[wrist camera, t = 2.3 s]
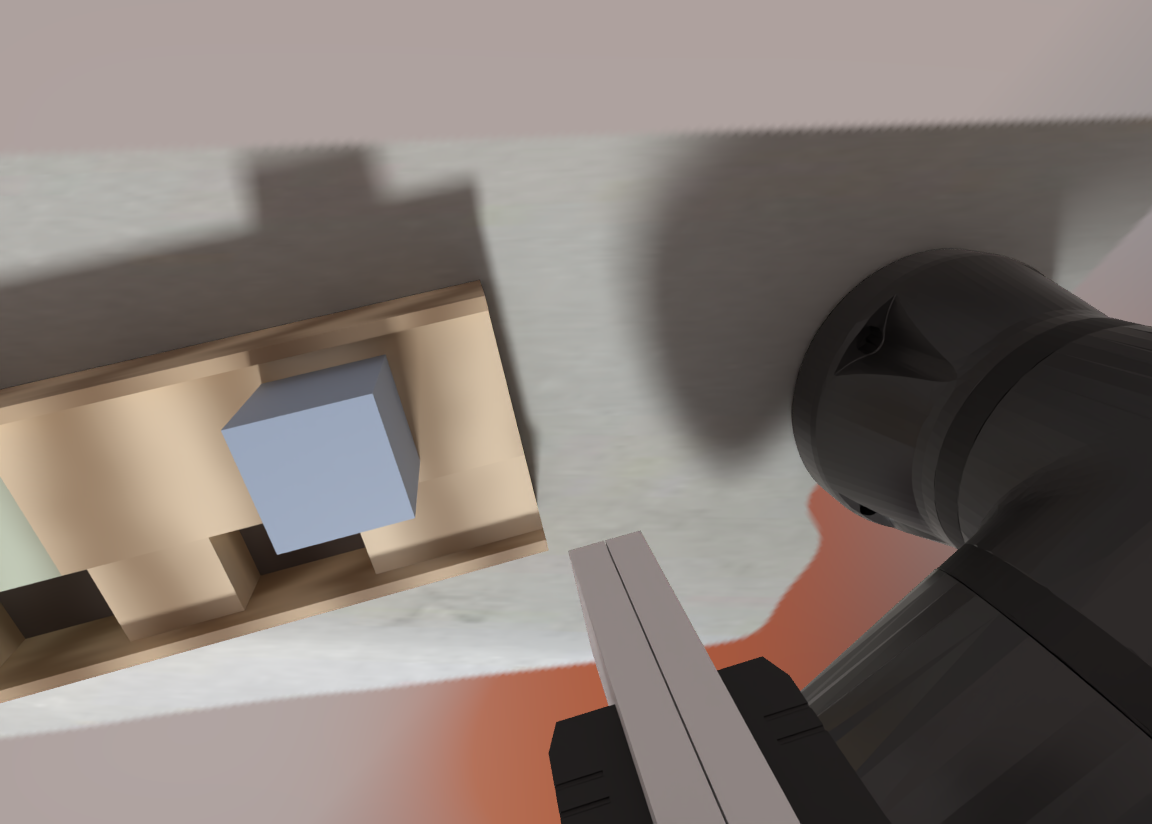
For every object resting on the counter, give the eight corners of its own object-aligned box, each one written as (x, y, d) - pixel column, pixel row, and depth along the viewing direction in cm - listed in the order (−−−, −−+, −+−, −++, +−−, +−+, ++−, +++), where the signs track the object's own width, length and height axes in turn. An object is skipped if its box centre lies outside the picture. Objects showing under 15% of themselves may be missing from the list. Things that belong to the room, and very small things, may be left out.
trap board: (479, 280, 28) (491, 317, 21) (537, 508, 33) (563, 604, 26) (-254, 447, 25) (-540, 560, 18) (-75, 674, 30) (-245, 836, 23)
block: (385, 354, 26) (372, 393, 21) (420, 461, 28) (415, 518, 23) (261, 383, 25) (220, 430, 21) (305, 490, 27) (277, 554, 23)
